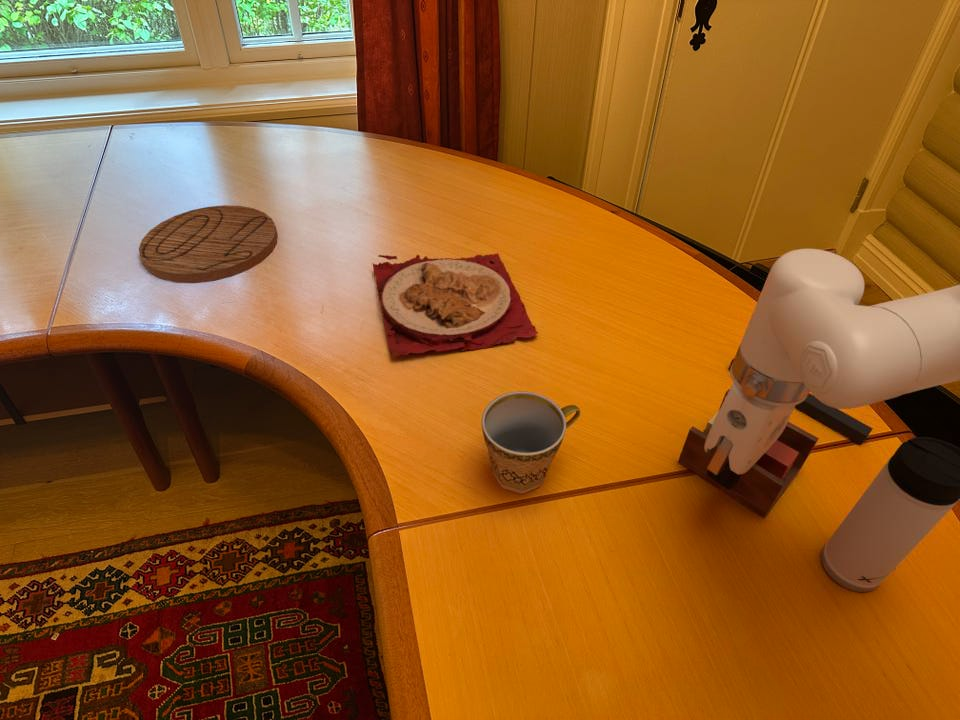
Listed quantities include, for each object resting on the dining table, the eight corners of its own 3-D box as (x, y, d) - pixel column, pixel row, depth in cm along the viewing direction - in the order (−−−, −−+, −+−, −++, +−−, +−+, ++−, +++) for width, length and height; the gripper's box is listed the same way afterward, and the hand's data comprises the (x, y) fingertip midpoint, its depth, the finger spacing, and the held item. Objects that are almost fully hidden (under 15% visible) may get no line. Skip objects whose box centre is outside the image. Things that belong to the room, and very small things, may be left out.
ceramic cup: (502, 517, 73) (505, 466, 66) (468, 457, 80) (467, 406, 73) (593, 479, 77) (604, 428, 70) (553, 426, 84) (560, 374, 77)
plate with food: (391, 364, 93) (389, 348, 91) (373, 269, 111) (371, 253, 109) (538, 342, 98) (540, 326, 95) (498, 254, 116) (499, 238, 113)
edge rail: (866, 438, 83) (873, 428, 81) (860, 445, 82) (866, 436, 80) (735, 363, 93) (738, 353, 92) (728, 369, 92) (731, 359, 91)
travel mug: (868, 607, 65) (972, 500, 52) (809, 564, 69) (892, 453, 55) (893, 571, 68) (996, 461, 55) (835, 532, 72) (919, 419, 58)
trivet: (298, 219, 125) (296, 211, 124) (240, 290, 107) (238, 281, 106) (187, 208, 128) (184, 200, 127) (113, 274, 110) (109, 265, 109)
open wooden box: (799, 471, 78) (819, 438, 74) (764, 518, 73) (783, 486, 69) (715, 421, 85) (728, 388, 80) (677, 462, 79) (689, 429, 75)
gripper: (772, 430, 54) (715, 537, 67) (844, 353, 61) (781, 463, 74) (698, 385, 58) (658, 495, 71) (775, 318, 65) (726, 428, 78)
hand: (721, 478), depth 72 cm, fingers closed
